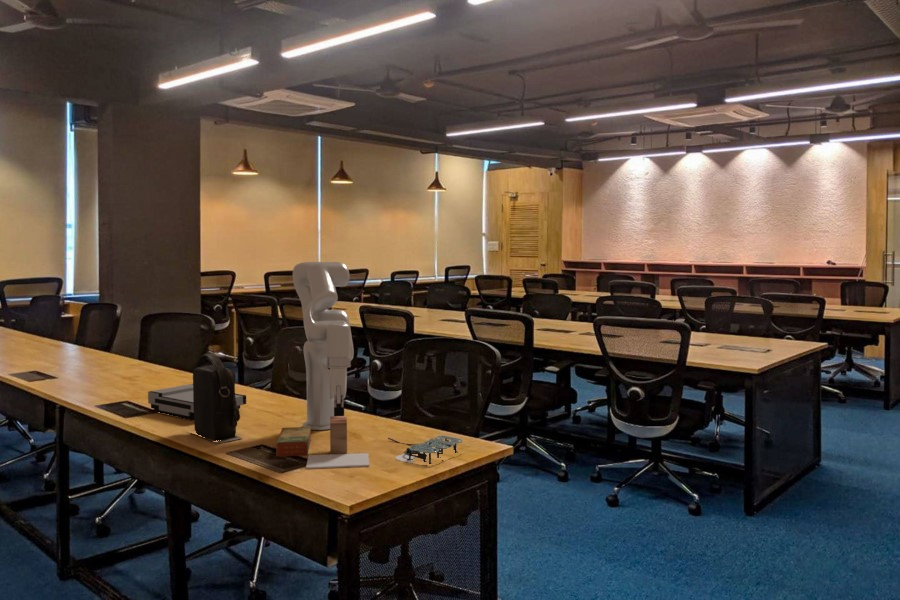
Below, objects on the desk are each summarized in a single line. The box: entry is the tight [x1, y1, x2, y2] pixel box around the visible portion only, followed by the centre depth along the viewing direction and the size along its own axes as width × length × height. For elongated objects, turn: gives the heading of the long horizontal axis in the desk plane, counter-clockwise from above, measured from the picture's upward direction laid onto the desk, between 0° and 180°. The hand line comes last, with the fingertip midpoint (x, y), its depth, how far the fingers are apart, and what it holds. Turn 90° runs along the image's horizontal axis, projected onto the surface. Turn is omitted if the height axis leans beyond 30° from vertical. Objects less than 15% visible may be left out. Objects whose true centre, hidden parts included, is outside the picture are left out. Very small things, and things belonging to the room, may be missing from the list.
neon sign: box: [387, 435, 464, 465], centre depth 224 cm, size 21×4×29 cm
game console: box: [147, 383, 247, 421], centre depth 277 cm, size 21×32×8 cm, turn 56°
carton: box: [275, 426, 312, 457], centre depth 228 cm, size 10×18×5 cm, turn 8°
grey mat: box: [305, 452, 370, 470], centre depth 213 cm, size 12×18×1 cm, turn 98°
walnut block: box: [329, 415, 348, 455], centre depth 221 cm, size 5×5×11 cm
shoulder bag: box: [192, 352, 243, 444], centre depth 242 cm, size 23×9×28 cm, turn 46°
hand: (339, 419), depth 229 cm, fingers closed
